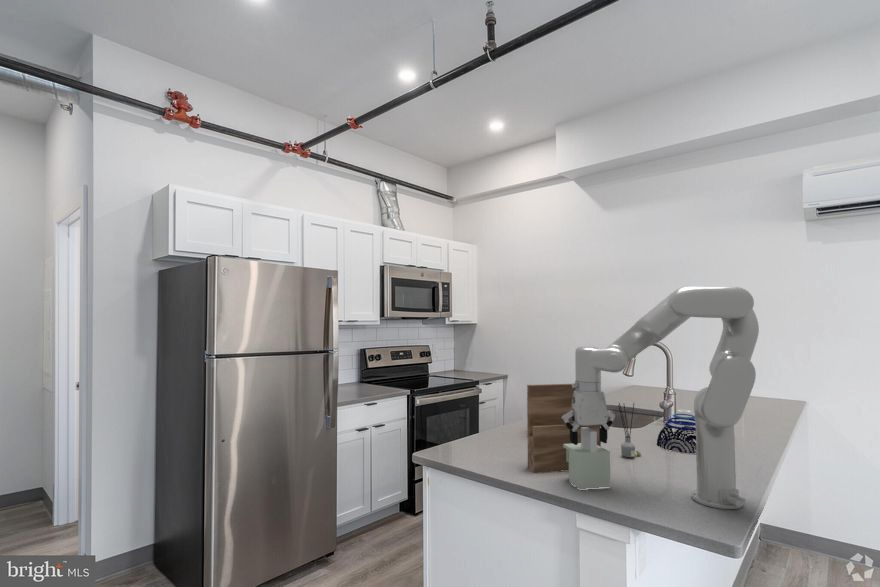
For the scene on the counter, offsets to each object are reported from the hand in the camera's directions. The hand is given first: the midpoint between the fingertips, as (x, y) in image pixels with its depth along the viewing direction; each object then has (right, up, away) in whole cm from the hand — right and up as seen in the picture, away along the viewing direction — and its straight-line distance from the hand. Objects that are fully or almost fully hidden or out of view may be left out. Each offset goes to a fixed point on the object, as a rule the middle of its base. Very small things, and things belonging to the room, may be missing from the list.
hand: (588, 443), depth 146 cm
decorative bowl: (+52, -15, +42) cm, 69 cm away
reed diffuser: (+24, -15, +30) cm, 40 cm away
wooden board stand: (-3, -14, +16) cm, 21 cm away
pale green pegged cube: (0, -13, +1) cm, 13 cm away
